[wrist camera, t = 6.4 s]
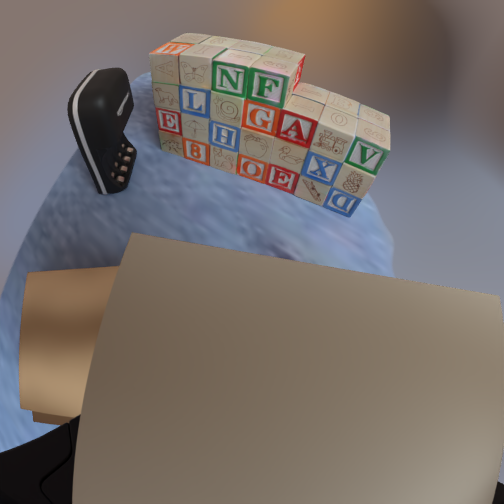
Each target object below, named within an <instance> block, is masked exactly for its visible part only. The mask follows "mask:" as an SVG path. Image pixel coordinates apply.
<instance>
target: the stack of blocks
mask: <svg viewBox="0 0 504 504" xmlns="http://www.w3.org/2000/svg"><path fill="white" fill-rule="evenodd" d="M149 59H150V68H151V76H152V88H153V90H152V91H153V98H154V104H155V106H156V107H155V108H156V116H157V122H158V128H159V138H160V143H161V149H162V151H165V152H169V153H172V154H175V155H178V156H181V157H184V158H186V159H189V160H192V161H195V162H199V163H202V164H205V165H208V166H211V167H214V168H216V169H220V170H223V171H225V172H228V173H231V174H235V175H236V174H237V175H240V176H243V177H246V178H249V179H252V180H255V181H257V182H260V183H263V184H267V185H270V186H272V187H275V188H277V189H280V190H283V191H286V192H288V193H292V194H294V195H295V196H297V197H300V198H302V199H305V200H308V201H310V202H313V203H315V204H317V205H320V206H323V207H325V208H327V209H330V210H332V211H335V212H337V213H340V214H342V215H345V216H347V217H351V216H352V214H353V213H354V211H355V210H356V208H357V206H358V205H359V203H360V202H361V200H362V198H363V197H364V196H365V194H366V193H367V191H368V190H369V188H370V186H371V185H372V183H373V181H374V179H375V178H376V175H377V173H378V172H379V170H380V168H381V166H382V165H383V163H384V161H385V159H386V158H387V156H388V154H389V152H390V117H389V116H388V115H386V114H383V113H381V112H379V111H377V110H374V109H372V108H370V107H367V106H365V105H361V104H360V103H359V102H356V101H354V100H352V99H349V98H346V97H344V96H341V95H339V94H336V93H333V92H329V91H328V90H325V89H322V88H319V87H316V86H313V85H310V84H307V83H298V82H299V80H300V77H301V72H302V68H303V63H304V59H305V54H302V53H298V52H295V51H291V50H287V49H283V48H279V47H273V46H270V45H266V44H261V43H256V42H251V41H246V40H243V41H242V40H238V39H231V38H225V37H218V36H211V35H204V34H194V33H185V34H184V35H181V36H179V37H177V38H175V39H173V40H171V41H170V42H168V43H166V44H164V45H163V46H160V47H159V48H157V49H155V50H154V51H152V52H151V53H149Z"/></svg>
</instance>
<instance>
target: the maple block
mask: <svg viewBox="0 0 504 504" xmlns="http://www.w3.org/2000/svg"><path fill="white" fill-rule="evenodd" d="M118 269H119V266H112V267H98V268H84V269H69V270H54V271H40V272H28V273H27V279H26V285H25V292H24V299H23V308H22V317H21V329H20V346H19V391H20V407H21V409H26V410H30V411H36V412H41V413H47V414H53V415H59V416H66V417H74V418H75V417H76V416H78V415H80V414H81V410H82V404H83V398H84V393H85V388H86V383H87V378H88V374H89V369H90V365H91V360H92V356H93V352H94V348H95V344H96V340H97V336H98V333H99V329H100V326H101V322H102V318H103V315H104V312H105V308H106V305H107V302H108V299H109V295H110V292H111V289H112V286H113V283H114V280H115V277H116V274H117V271H118Z"/></svg>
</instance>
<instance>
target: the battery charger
mask: <svg viewBox="0 0 504 504" xmlns="http://www.w3.org/2000/svg"><path fill="white" fill-rule="evenodd" d="M133 107H134V103H133V98H132V93H131V88H130V84H129V80H128V76H127V74H126V72H125V71H124V70H123V69H121V68H109V69H103V70H102V69H97V70H94V71H92V72H90V73H89V74H88V75H87V76H86V77H85V78H84V79H83V80H82V81H81V83H80V84H79V85H78V86H77V88H76V89H75V90H74V92H73V94H72V95H71V97H70V99H69V102H68V117H69V121H70V124H71V127H72V130H73V133H74V136H75V139H76V141H77V144H78V147H79V149H80V151H81V154H82V156H83V158H84V161H85V163H86V165H87V167H88V169H89V171H90V174H91V176H92V178H93V181H94V183H95V185H96V188H97V190H98V193H99V194H104V195H106V194H109V193H117V192H120V191H123V190H124V189H125V188H126V187H127V185H128V183H129V180H130V176H131V173H132V169H133V166H134V162H135V159H136V154H137V151H136V149H135V148H134V147H133V145H132V144H131V143H130V142H129V141H128V140H127V138H126V137H125V135H124V133H123V131H124V128H125V126H126V124H127V121H128V119H129V117H130V115H131V112H132V110H133Z"/></svg>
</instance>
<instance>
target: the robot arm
mask: <svg viewBox="0 0 504 504" xmlns="http://www.w3.org/2000/svg"><path fill="white" fill-rule="evenodd" d="M80 416H81V414H80V415H78V416H76V417H75V418H73V419H71V420H70V421H69V423H67V422H66V423H64V424H62V425H61V426H59V427H57V428H56V429H54V430H52V431H50V432H48V433H46V434H44V435H42V436H41V437H39V438H36V439H34V440H32V441H30V442H27V443H25V444H23V445H20V446H18V447H15V448H12V449H10V450H7V451H4V452H1V453H0V504H72V494H73V476H74V463H75V453H76V444H77V436H78V429H79V422H80ZM492 504H504V484H502V483H500V482H498V481H497V486H496V490H495V494H494V498H493V502H492Z"/></svg>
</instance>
